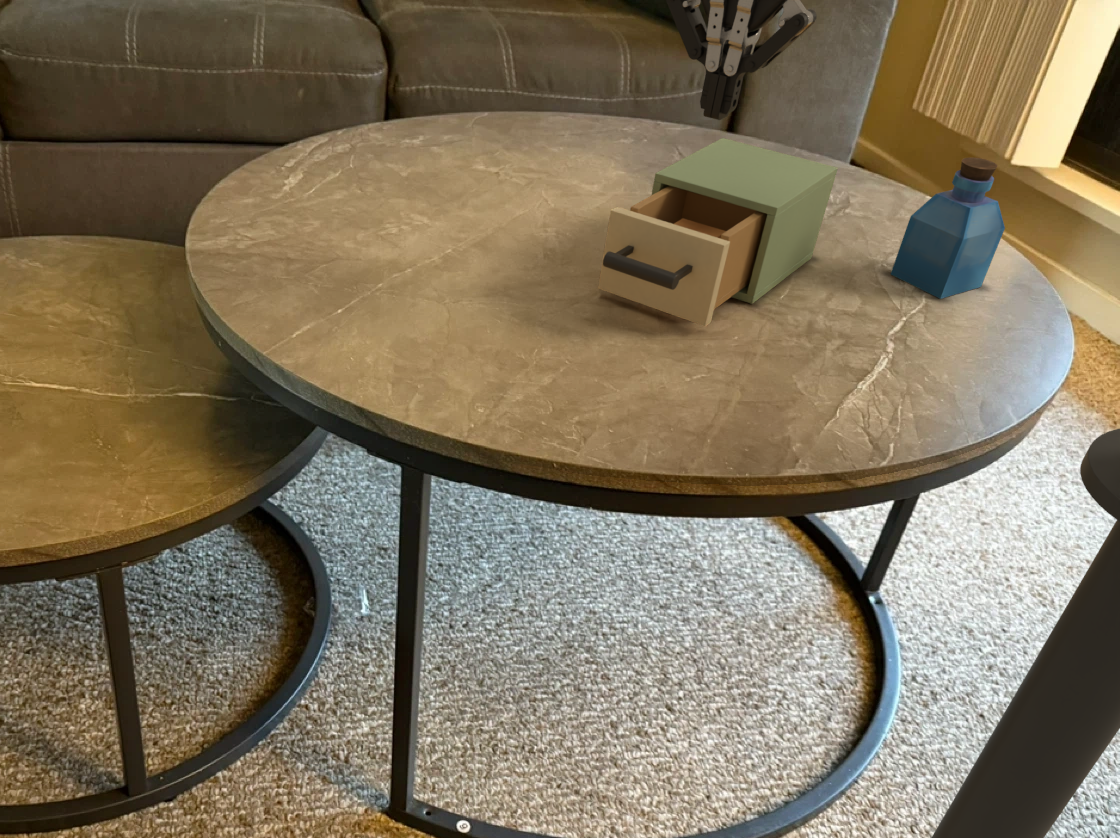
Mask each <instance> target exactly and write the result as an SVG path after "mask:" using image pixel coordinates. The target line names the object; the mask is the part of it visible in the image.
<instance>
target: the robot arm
mask: <svg viewBox="0 0 1120 838" xmlns="http://www.w3.org/2000/svg"><path fill="white" fill-rule="evenodd" d="M665 2H666V4H667V7H668V9H669V12H670V14H671V17H672V19H673V21H674V24H675V27H676V29H677V31H678V34H679V36H680V38H681V41H682V43H683V46H684V48H685V51H686V53H687V56H688V58H689V59H691V60H694V61H695V60H696V61H697V62H699V63H700V64H702V65H703V66H704V68H705V75H704V81H703V84H702V90H701V95H700V100H699V105H700V109H702V110H703V114H702V115H703V117H704V118H707V119H708V118H709V119H714V120H717V121H721V120H723V119H725V118H727V117H728V116H729V114H730V113H732V112H734V111H735V110H736V108H737V107H738V103H739V98H740V94H741V91H742V90H741V89H742V85H743V80H744V76H745V74H746V73H749V74H751V73H752V74H753V73H755V72H757V71H759V70H761V69H764V68H766V67H768V66H769V65H771V63H772V62H774V60H776V59H777V57H779V56H780V55H781V54H782V53H783V52H785V50H786V49H787V48H789V46H791V45H792V44H793V43H794V42H795V41H796V40H797V39H799V37H801V36H802V35H803V34H804V33H805V32H806V31H808V30H809V28H810V27H812V26H813V25H814V24H815V23H816V22H817V13H816V11H815V10H813V9H809V8H808V9H807V8H806V7H805V5H804V4H803V2H802V1H801V0H665ZM700 5H702V7H703V9H704V12H705V14H706V17H707V20H708V23H707V24H706V22H705V19H704V17H703V15H702V12H701V10H700ZM782 9H783V11H782V14H781V15H780V17H779V18H778V22H777V24H778V27H779V29H778V30H777V31H775V33H773V34H772V35H771V36H770V37H769V38H768V39H767V40H766V41H765V42H764V43H763V44H761V46H759V48H758V49H756V50H755V47H756V45H757V43H758V42H759V39H760V37H761V33H762V30H763V28H764V27H765V26H767V25H768V24H769V23H770V22H771V21H772V20H773V19H774V18H775V17H776V16H777V14H779V13H780V11H781V10H782ZM754 50H755V51H754Z"/></svg>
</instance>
